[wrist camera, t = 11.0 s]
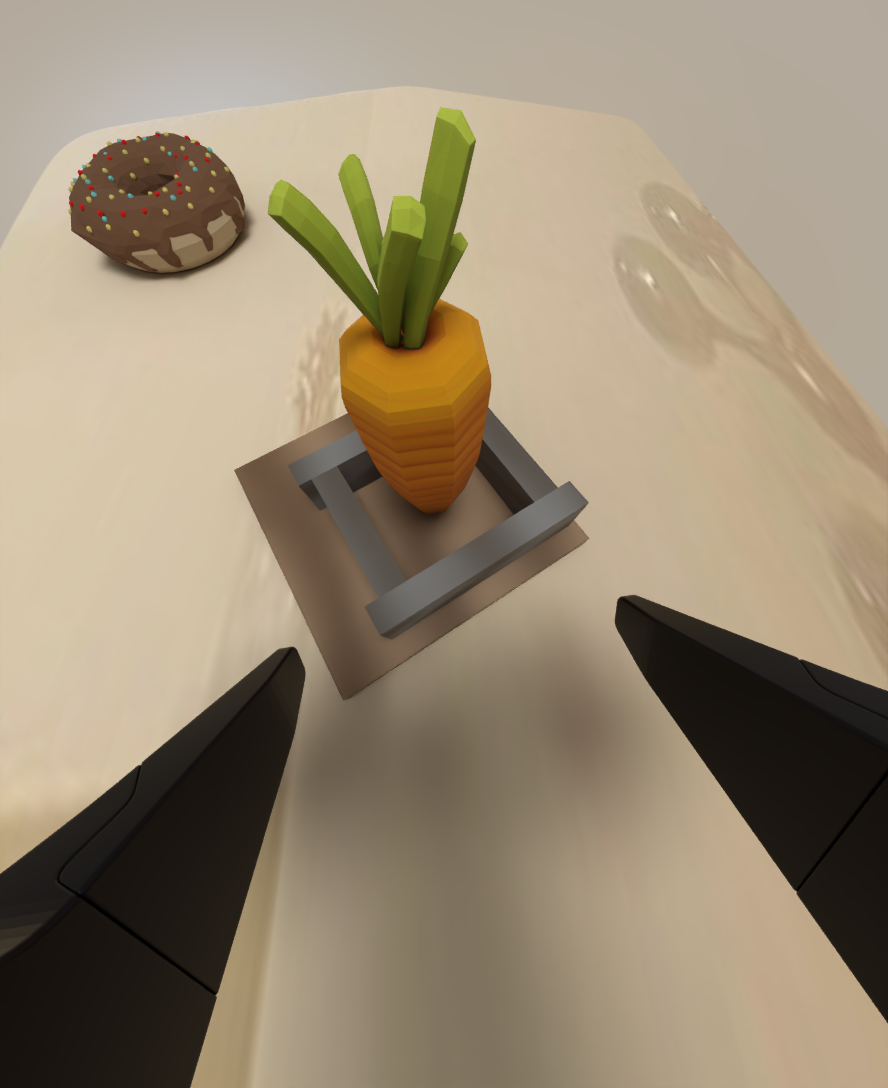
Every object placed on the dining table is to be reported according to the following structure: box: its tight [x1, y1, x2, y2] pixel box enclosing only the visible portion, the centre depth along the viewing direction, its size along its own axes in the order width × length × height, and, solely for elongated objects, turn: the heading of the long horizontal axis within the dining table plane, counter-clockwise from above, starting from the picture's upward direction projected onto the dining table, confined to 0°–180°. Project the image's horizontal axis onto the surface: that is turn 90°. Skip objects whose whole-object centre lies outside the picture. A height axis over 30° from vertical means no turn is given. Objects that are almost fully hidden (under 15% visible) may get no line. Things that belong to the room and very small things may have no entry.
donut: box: [68, 131, 245, 273], centre depth 29 cm, size 14×14×5 cm
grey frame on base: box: [234, 408, 589, 700], centre depth 19 cm, size 16×16×4 cm
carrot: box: [268, 107, 491, 514], centre depth 13 cm, size 5×5×15 cm
